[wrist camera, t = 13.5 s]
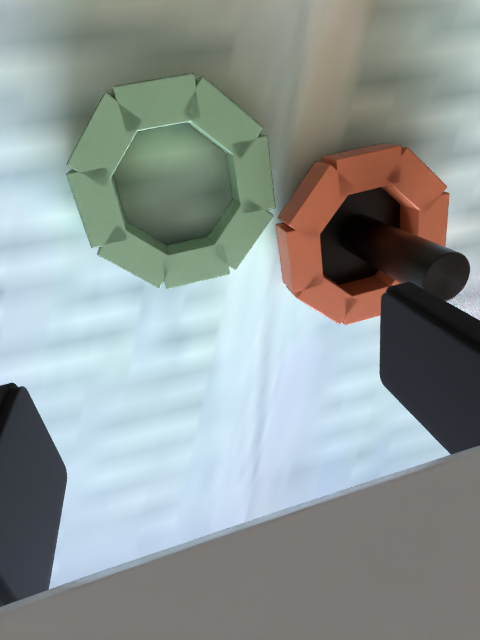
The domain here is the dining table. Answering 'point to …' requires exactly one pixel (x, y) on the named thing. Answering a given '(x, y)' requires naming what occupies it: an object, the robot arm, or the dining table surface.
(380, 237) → the peg stand
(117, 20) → the dining table surface
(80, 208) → the ring green
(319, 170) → the ring terracotta
